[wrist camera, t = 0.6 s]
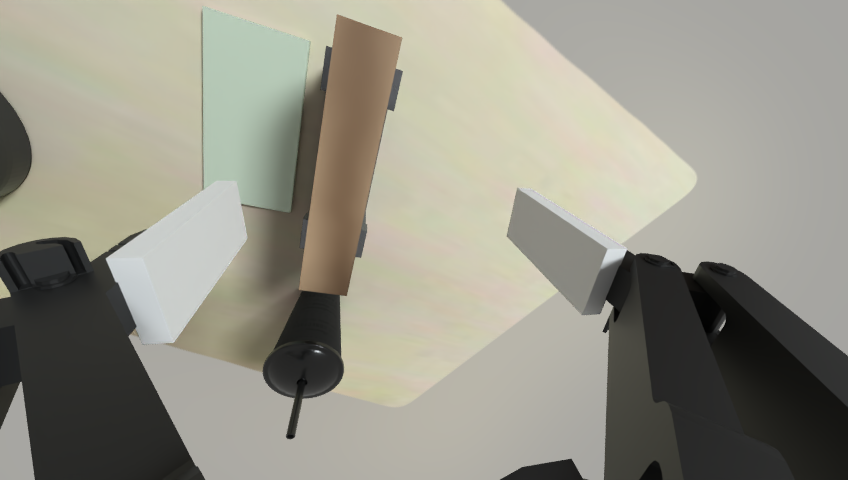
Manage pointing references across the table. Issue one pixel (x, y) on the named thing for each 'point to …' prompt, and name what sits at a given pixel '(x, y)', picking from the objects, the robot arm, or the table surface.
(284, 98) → the mat
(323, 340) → the drinking cup
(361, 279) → the table surface
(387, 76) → the rail
